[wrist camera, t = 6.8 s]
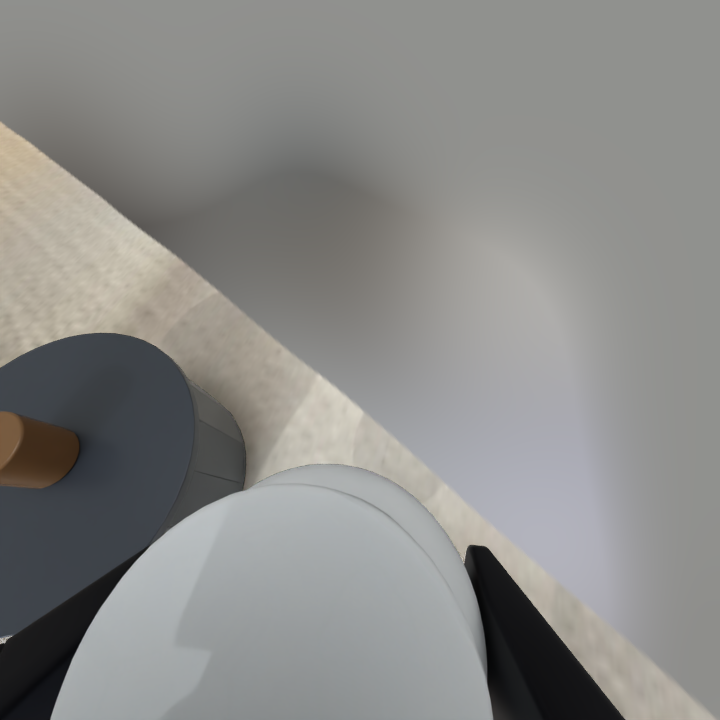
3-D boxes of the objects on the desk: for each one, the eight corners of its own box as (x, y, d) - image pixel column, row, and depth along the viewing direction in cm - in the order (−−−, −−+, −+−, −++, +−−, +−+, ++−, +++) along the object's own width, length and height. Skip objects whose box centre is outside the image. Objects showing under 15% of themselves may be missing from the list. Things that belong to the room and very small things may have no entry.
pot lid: (245, 518, 13) (201, 518, 10) (-80, 707, 11) (-267, 783, 8) (168, 307, 18) (121, 260, 15) (-71, 414, 16) (-186, 387, 13)
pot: (274, 516, 19) (227, 514, 13) (72, 636, 17) (-90, 697, 11) (212, 362, 23) (156, 308, 17) (47, 442, 21) (-78, 413, 15)
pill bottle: (271, 689, 12) (-269, 1523, 2) (271, 502, 15) (43, 458, 5) (444, 665, 12) (767, 1365, 2) (411, 483, 15) (480, 399, 5)
